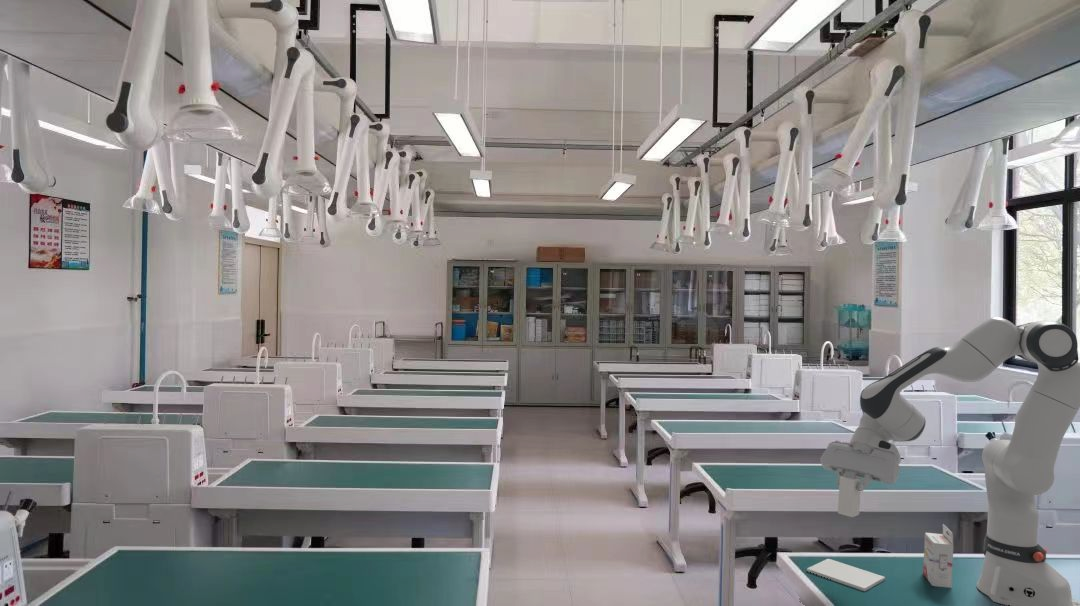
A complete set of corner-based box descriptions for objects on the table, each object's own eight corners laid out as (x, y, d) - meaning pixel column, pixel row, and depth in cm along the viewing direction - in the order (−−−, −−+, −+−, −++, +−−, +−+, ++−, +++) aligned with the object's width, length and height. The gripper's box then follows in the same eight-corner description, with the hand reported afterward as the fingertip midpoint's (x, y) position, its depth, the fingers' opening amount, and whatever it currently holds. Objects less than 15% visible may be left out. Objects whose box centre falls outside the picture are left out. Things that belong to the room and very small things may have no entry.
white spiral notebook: (884, 579, 196) (885, 576, 196) (864, 591, 188) (864, 588, 188) (828, 561, 208) (828, 558, 208) (806, 571, 200) (806, 568, 200)
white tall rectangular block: (859, 514, 197) (861, 472, 197) (852, 517, 195) (854, 475, 194) (844, 510, 200) (846, 469, 200) (837, 513, 198) (840, 471, 197)
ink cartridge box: (921, 573, 201) (924, 521, 201) (941, 575, 200) (944, 522, 200) (931, 586, 193) (934, 531, 192) (952, 588, 192) (955, 533, 191)
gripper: (827, 433, 209) (809, 471, 203) (901, 447, 194) (883, 489, 188) (834, 446, 212) (816, 485, 206) (907, 461, 197) (890, 503, 191)
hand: (848, 487), depth 197 cm, fingers closed on white tall rectangular block, 4 cm apart
